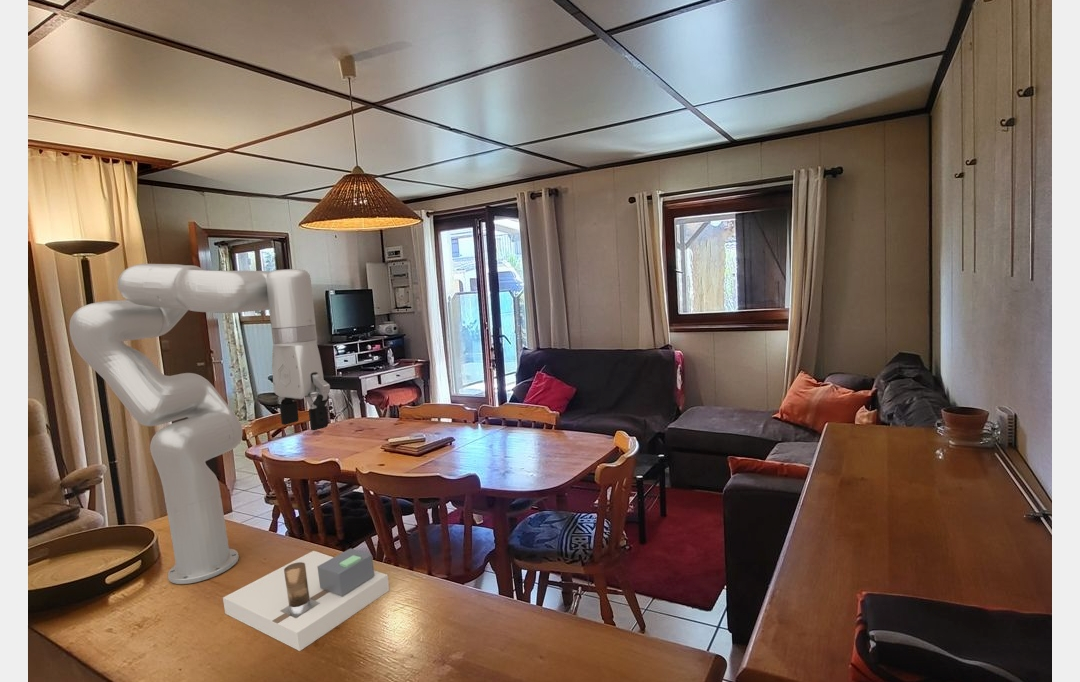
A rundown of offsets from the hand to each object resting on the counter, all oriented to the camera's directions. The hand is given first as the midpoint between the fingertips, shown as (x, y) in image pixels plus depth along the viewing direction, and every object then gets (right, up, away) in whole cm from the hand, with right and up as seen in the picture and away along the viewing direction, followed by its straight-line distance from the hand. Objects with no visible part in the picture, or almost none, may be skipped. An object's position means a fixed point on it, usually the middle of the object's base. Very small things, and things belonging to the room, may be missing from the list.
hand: (304, 425), depth 102 cm
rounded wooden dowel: (+5, -31, -12) cm, 34 cm away
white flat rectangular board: (+3, -31, -6) cm, 31 cm away
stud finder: (+10, -27, -6) cm, 30 cm away
